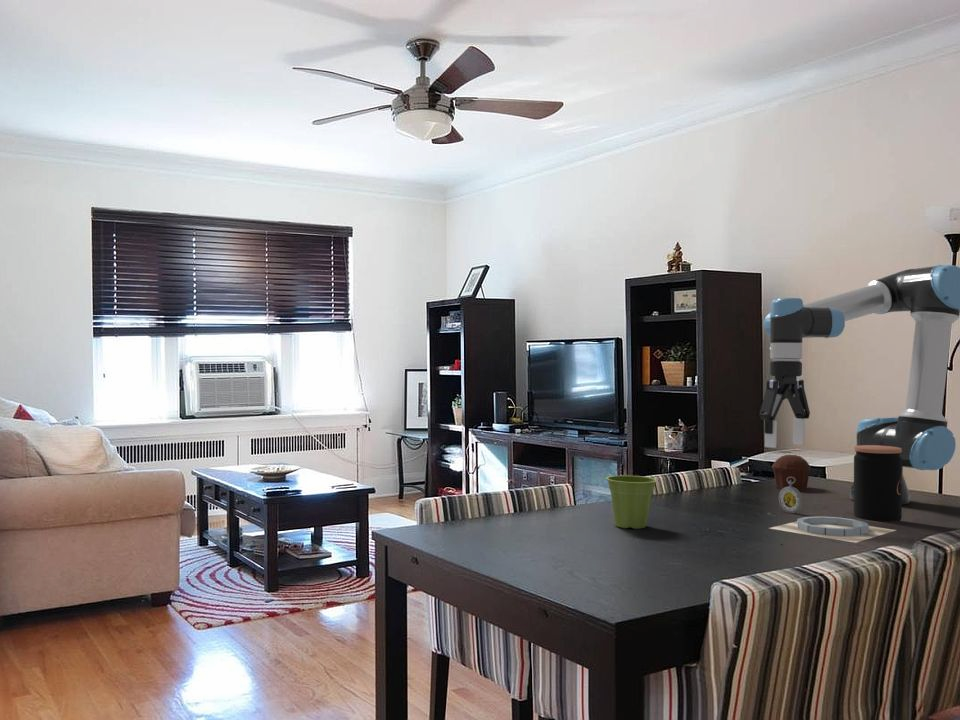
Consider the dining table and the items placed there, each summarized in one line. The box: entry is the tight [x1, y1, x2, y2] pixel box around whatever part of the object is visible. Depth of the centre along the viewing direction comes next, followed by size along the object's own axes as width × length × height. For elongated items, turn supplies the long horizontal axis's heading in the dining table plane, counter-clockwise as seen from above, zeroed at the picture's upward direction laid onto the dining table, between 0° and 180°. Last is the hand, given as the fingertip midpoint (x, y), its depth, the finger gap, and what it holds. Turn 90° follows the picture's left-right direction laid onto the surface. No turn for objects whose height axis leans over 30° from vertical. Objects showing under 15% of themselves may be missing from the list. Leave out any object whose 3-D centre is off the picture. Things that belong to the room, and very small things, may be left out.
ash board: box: [768, 521, 897, 544], centre depth 195 cm, size 20×20×1 cm
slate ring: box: [797, 515, 870, 536], centre depth 195 cm, size 15×15×2 cm
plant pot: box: [605, 475, 658, 530], centre depth 203 cm, size 12×12×11 cm
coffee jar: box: [853, 445, 903, 522], centre depth 210 cm, size 11×11×18 cm
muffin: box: [771, 454, 812, 491], centre depth 263 cm, size 12×11×10 cm
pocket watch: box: [768, 477, 804, 517], centre depth 214 cm, size 8×8×10 cm
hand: (784, 445), depth 214 cm, fingers open, 13 cm apart
